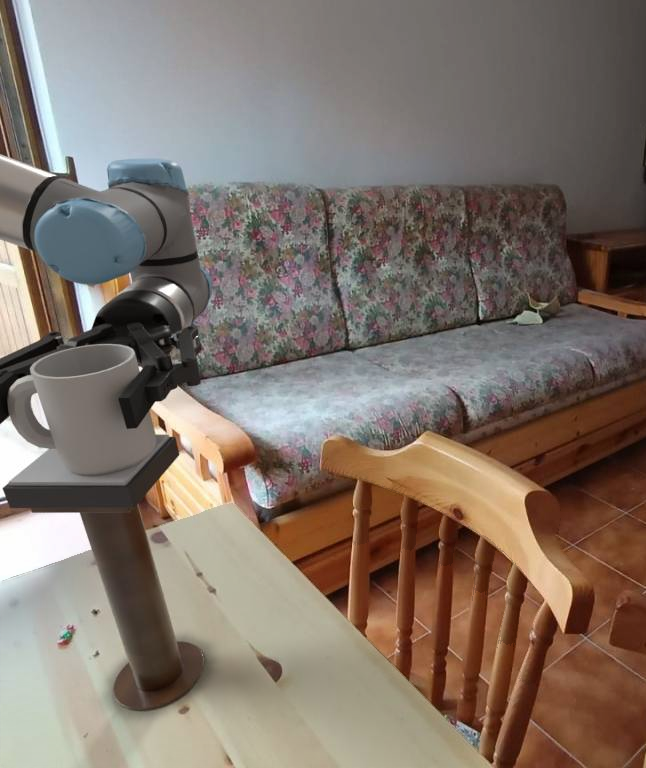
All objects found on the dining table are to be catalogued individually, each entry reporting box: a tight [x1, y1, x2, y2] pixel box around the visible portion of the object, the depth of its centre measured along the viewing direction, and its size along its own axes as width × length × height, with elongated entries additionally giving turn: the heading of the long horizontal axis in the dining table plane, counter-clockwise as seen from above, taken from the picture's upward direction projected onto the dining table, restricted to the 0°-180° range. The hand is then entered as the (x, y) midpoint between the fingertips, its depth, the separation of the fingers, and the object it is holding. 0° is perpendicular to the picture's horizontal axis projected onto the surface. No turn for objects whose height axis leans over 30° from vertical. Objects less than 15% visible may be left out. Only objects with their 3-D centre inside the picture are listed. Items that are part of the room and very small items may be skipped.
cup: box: [7, 344, 157, 476], centre depth 52 cm, size 7×10×9 cm
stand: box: [30, 503, 205, 712], centre depth 61 cm, size 8×8×25 cm
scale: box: [2, 433, 180, 509], centre depth 55 cm, size 10×8×2 cm
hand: (51, 418), depth 48 cm, fingers closed on cup, 10 cm apart
